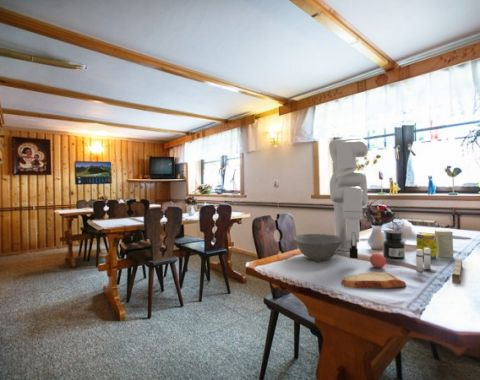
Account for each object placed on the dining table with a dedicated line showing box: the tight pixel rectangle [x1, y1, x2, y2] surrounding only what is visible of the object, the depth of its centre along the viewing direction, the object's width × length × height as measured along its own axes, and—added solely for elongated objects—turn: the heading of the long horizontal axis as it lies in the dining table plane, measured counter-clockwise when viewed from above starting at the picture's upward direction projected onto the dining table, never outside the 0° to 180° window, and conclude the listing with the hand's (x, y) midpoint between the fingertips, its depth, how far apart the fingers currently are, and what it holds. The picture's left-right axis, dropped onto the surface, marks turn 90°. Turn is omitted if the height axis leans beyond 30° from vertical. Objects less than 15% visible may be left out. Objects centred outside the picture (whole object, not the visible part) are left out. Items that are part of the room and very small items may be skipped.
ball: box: [369, 252, 387, 269], centre depth 114 cm, size 6×6×6 cm
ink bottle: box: [382, 230, 406, 260], centre depth 129 cm, size 10×9×12 cm
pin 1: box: [415, 248, 424, 273], centre depth 108 cm, size 2×2×8 cm
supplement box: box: [415, 232, 437, 260], centre depth 127 cm, size 6×6×11 cm
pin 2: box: [423, 248, 432, 270], centre depth 110 cm, size 2×2×8 cm
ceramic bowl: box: [293, 233, 343, 262], centre depth 129 cm, size 22×23×10 cm
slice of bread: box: [340, 272, 407, 290], centre depth 96 cm, size 18×18×4 cm
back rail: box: [451, 258, 463, 284], centre depth 104 cm, size 24×2×3 cm, turn 139°
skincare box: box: [434, 229, 454, 259], centre depth 128 cm, size 6×4×12 cm
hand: (353, 257), depth 116 cm, fingers closed
